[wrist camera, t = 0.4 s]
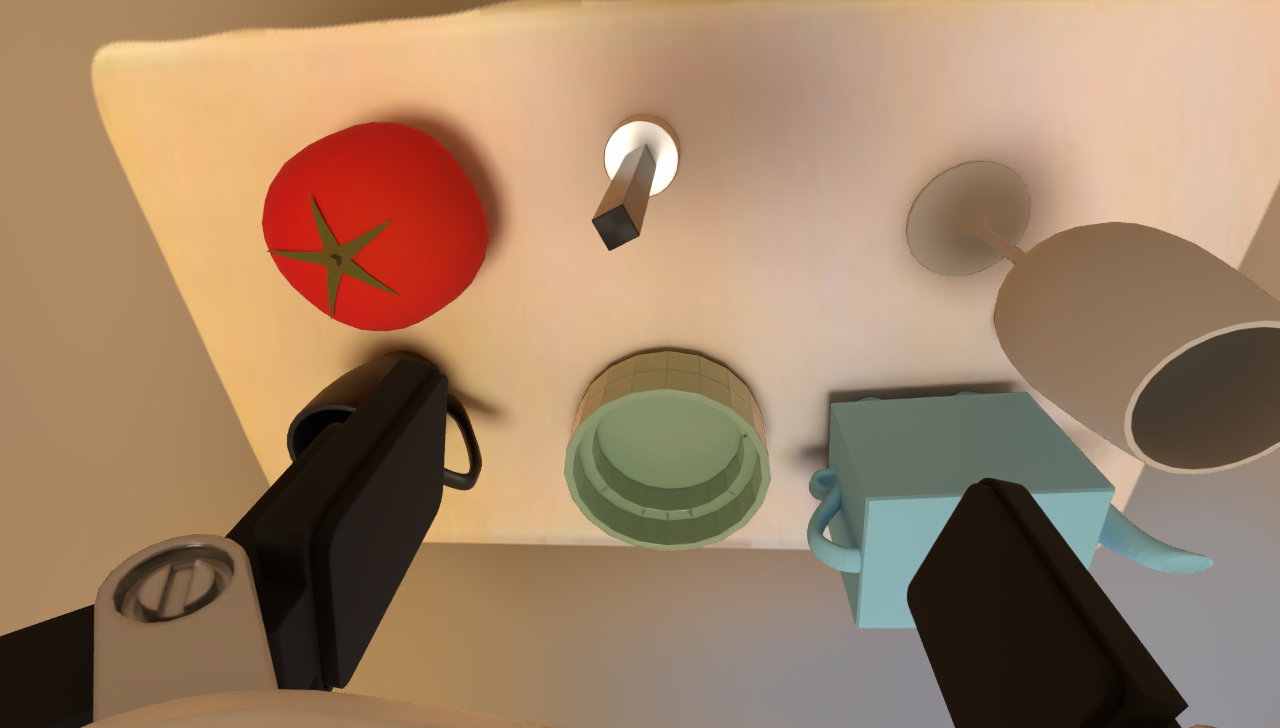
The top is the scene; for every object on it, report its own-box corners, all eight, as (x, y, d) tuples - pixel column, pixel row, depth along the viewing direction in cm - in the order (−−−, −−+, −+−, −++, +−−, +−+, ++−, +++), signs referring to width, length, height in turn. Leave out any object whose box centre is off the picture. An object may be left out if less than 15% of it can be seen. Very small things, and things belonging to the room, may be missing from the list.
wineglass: (943, 140, 35) (1211, 260, 17) (1058, 181, 36) (1434, 339, 18) (880, 256, 39) (1046, 456, 21) (986, 292, 40) (1236, 517, 22)
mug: (493, 454, 50) (454, 540, 41) (350, 404, 48) (280, 482, 40) (521, 376, 46) (483, 453, 37) (366, 318, 44) (291, 385, 36)
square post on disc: (658, 100, 36) (638, 147, 22) (691, 168, 37) (692, 252, 23) (595, 137, 37) (537, 204, 23) (629, 201, 39) (595, 299, 25)
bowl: (712, 315, 42) (715, 356, 37) (788, 461, 48) (801, 515, 43) (544, 391, 46) (525, 437, 41) (633, 517, 52) (626, 571, 47)
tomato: (291, 181, 40) (172, 228, 30) (426, 72, 36) (336, 88, 27) (408, 316, 44) (333, 392, 35) (539, 231, 40) (495, 292, 31)
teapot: (788, 506, 50) (818, 657, 38) (787, 392, 45) (823, 526, 33) (1072, 494, 47) (1202, 653, 35) (1109, 373, 42) (1276, 511, 30)
